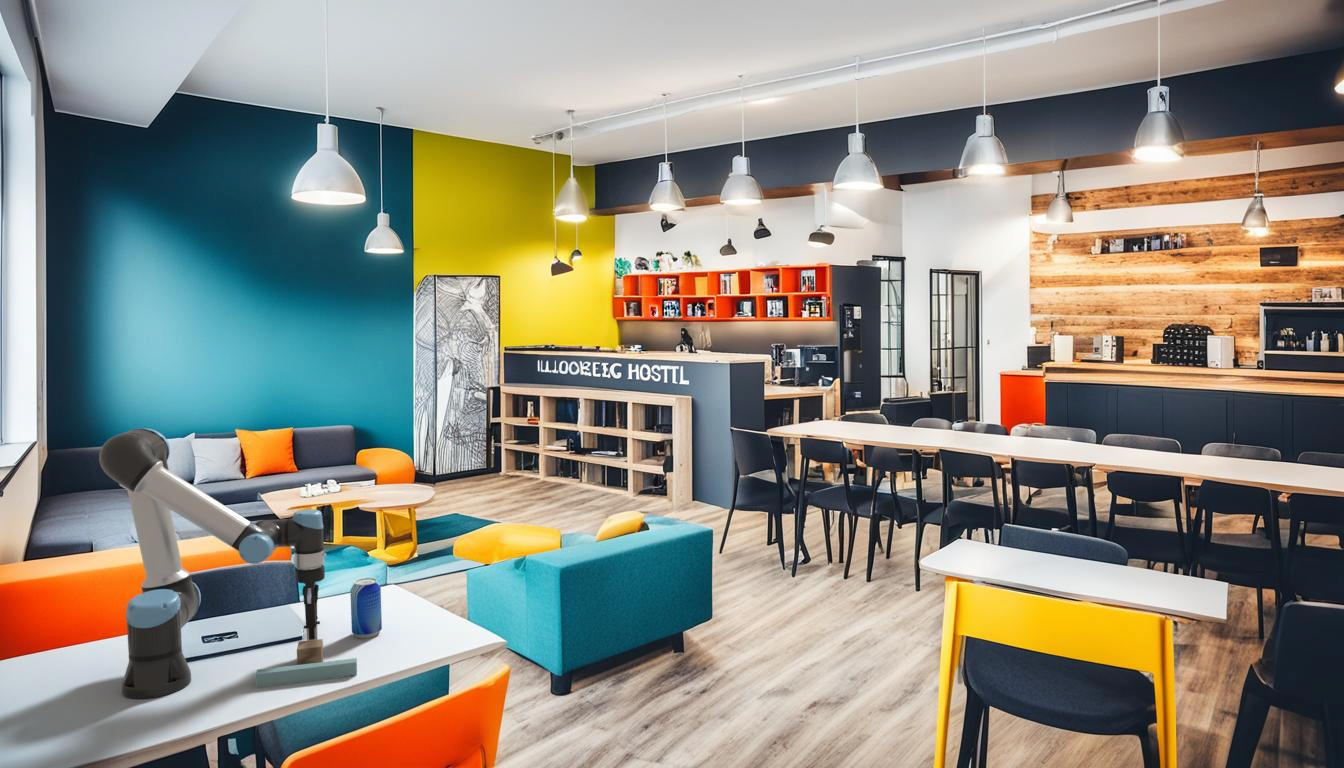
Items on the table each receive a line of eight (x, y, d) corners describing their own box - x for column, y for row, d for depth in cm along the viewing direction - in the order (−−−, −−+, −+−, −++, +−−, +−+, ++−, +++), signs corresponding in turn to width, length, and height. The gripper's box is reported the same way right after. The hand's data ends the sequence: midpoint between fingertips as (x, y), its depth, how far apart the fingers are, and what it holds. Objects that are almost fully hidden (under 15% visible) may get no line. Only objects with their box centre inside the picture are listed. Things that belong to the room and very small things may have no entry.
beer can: (362, 641, 253) (361, 587, 252) (346, 635, 258) (344, 582, 257) (387, 633, 259) (386, 580, 258) (371, 627, 265) (369, 575, 263)
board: (256, 687, 221) (255, 674, 221) (257, 683, 224) (257, 669, 224) (356, 675, 229) (356, 662, 228) (357, 670, 232) (356, 658, 231)
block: (297, 671, 232) (296, 649, 231) (299, 663, 237) (298, 641, 237) (321, 668, 233) (321, 646, 233) (323, 660, 239) (322, 639, 239)
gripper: (322, 571, 237) (325, 656, 238) (325, 558, 249) (328, 639, 251) (292, 573, 234) (295, 659, 236) (297, 561, 246) (300, 642, 248)
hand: (312, 649), depth 243 cm, fingers closed
